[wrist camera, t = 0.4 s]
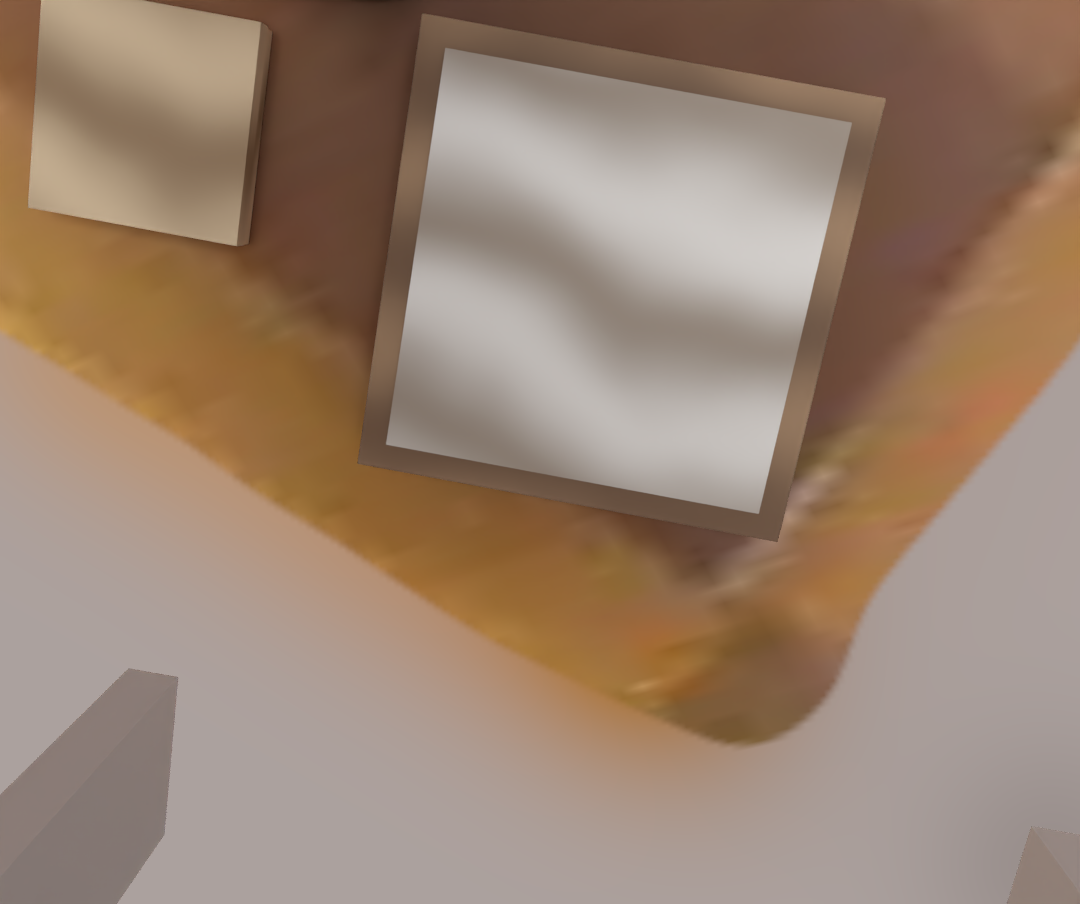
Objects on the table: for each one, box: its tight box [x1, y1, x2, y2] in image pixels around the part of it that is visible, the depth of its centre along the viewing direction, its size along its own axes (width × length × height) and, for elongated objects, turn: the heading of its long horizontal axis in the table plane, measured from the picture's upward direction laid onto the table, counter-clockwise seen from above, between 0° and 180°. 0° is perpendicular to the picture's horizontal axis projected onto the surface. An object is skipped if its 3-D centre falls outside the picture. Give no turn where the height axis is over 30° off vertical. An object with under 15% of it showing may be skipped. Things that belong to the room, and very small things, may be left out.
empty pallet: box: [28, 0, 273, 246], centre depth 38 cm, size 8×8×2 cm
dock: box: [358, 13, 886, 542], centre depth 38 cm, size 16×16×4 cm
